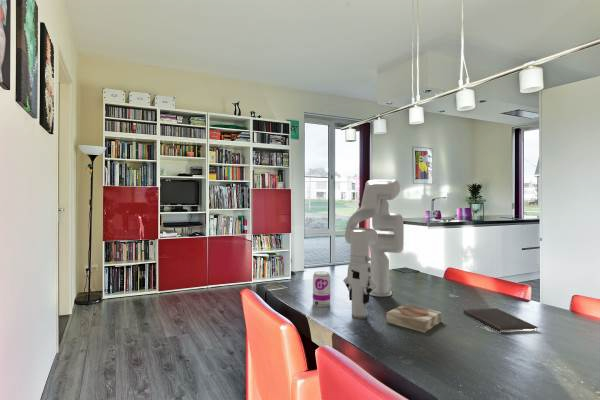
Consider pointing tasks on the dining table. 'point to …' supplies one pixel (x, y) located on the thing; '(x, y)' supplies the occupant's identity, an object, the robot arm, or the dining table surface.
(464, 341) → the dining table surface
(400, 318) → the cream panel copper ring
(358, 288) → the travel mug
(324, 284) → the supplement can
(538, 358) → the dining table surface
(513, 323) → the hardcover book
